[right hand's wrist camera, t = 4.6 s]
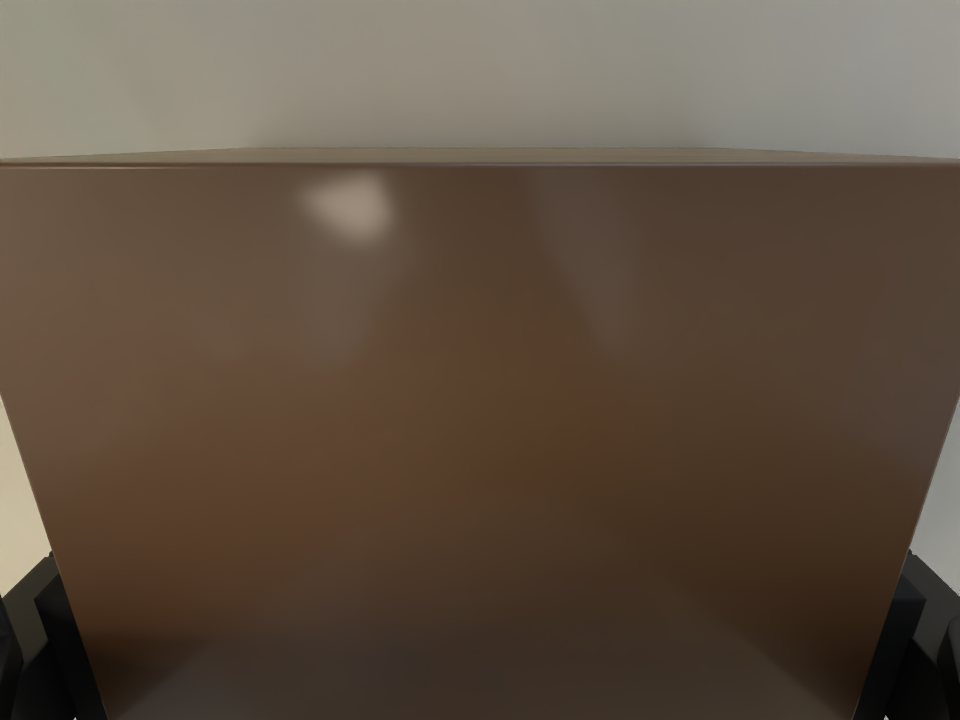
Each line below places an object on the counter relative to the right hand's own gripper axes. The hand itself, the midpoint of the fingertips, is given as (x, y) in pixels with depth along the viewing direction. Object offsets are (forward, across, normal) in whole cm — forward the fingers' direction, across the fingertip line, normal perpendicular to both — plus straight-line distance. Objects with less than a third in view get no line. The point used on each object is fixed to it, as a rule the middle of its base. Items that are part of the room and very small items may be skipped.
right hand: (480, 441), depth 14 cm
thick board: (+1, 0, -27) cm, 27 cm away
